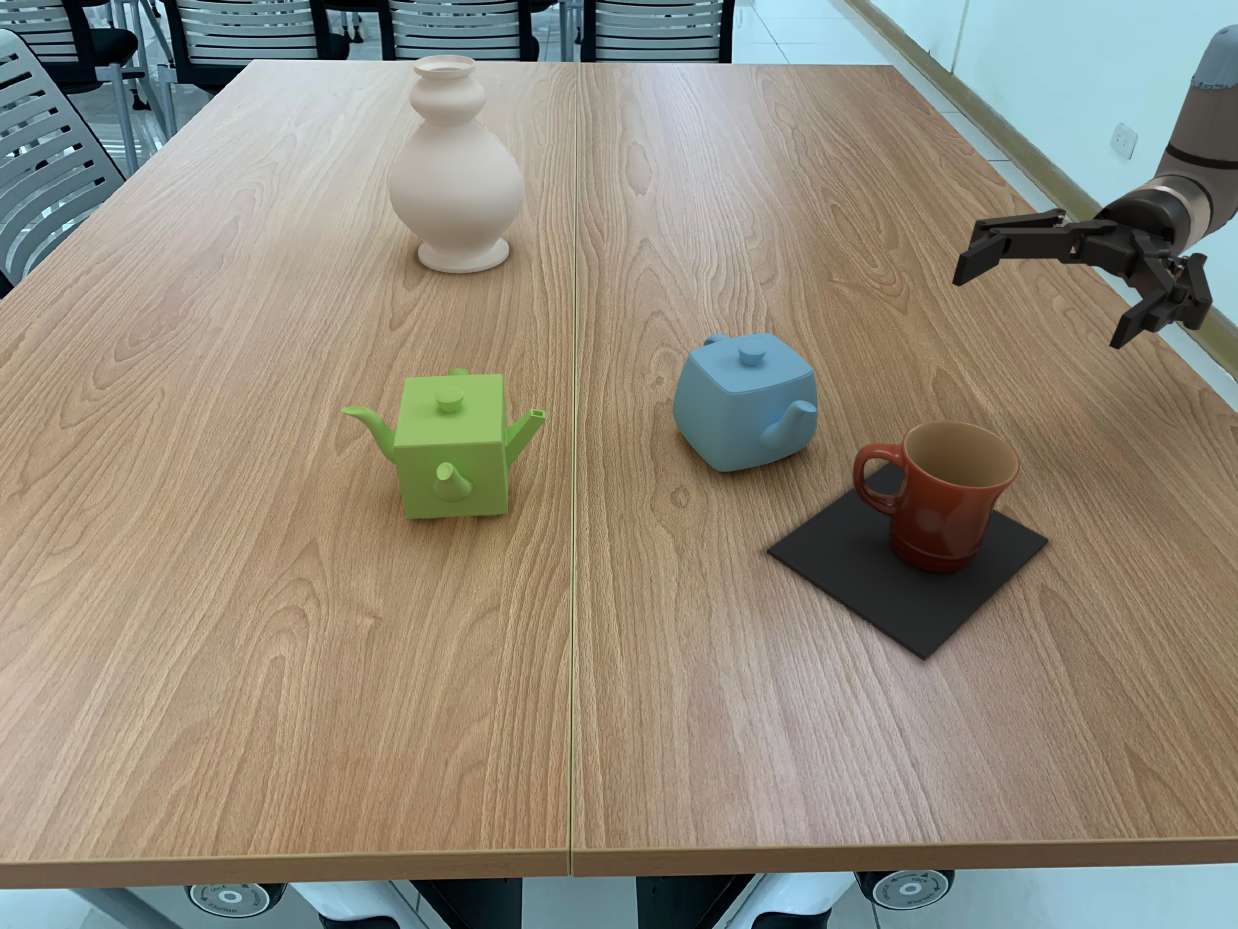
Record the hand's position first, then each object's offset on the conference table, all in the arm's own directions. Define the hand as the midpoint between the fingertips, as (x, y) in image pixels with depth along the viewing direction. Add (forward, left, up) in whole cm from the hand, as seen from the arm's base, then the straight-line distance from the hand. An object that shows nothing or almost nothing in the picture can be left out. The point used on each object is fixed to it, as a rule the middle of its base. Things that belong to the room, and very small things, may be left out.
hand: (1035, 300), depth 71 cm
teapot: (+19, +10, -22) cm, 30 cm away
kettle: (+33, +36, -22) cm, 53 cm away
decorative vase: (+75, +6, -21) cm, 78 cm away
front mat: (0, +10, -21) cm, 23 cm away
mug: (0, +10, -21) cm, 23 cm away
